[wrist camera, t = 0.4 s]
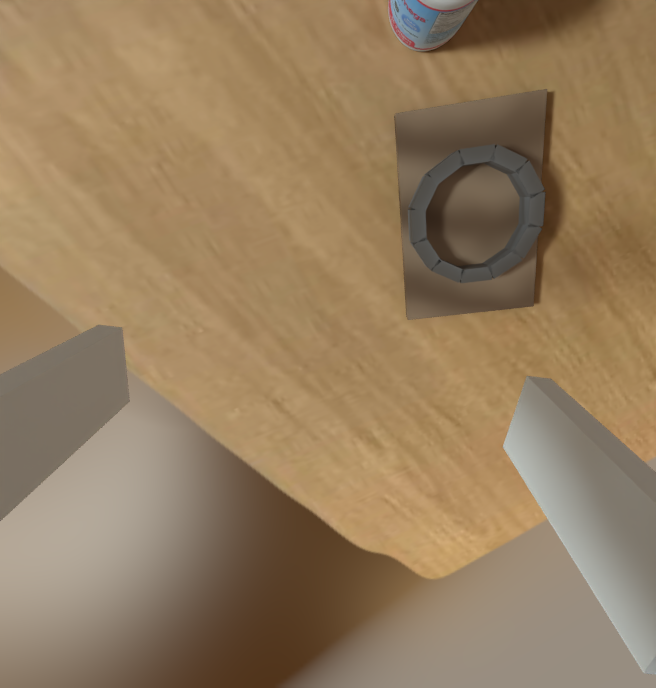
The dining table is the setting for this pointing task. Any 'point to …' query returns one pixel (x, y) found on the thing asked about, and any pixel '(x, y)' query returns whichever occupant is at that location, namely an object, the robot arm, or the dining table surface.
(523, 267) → the holder
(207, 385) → the dining table surface
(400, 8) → the pill bottle
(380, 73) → the dining table surface
